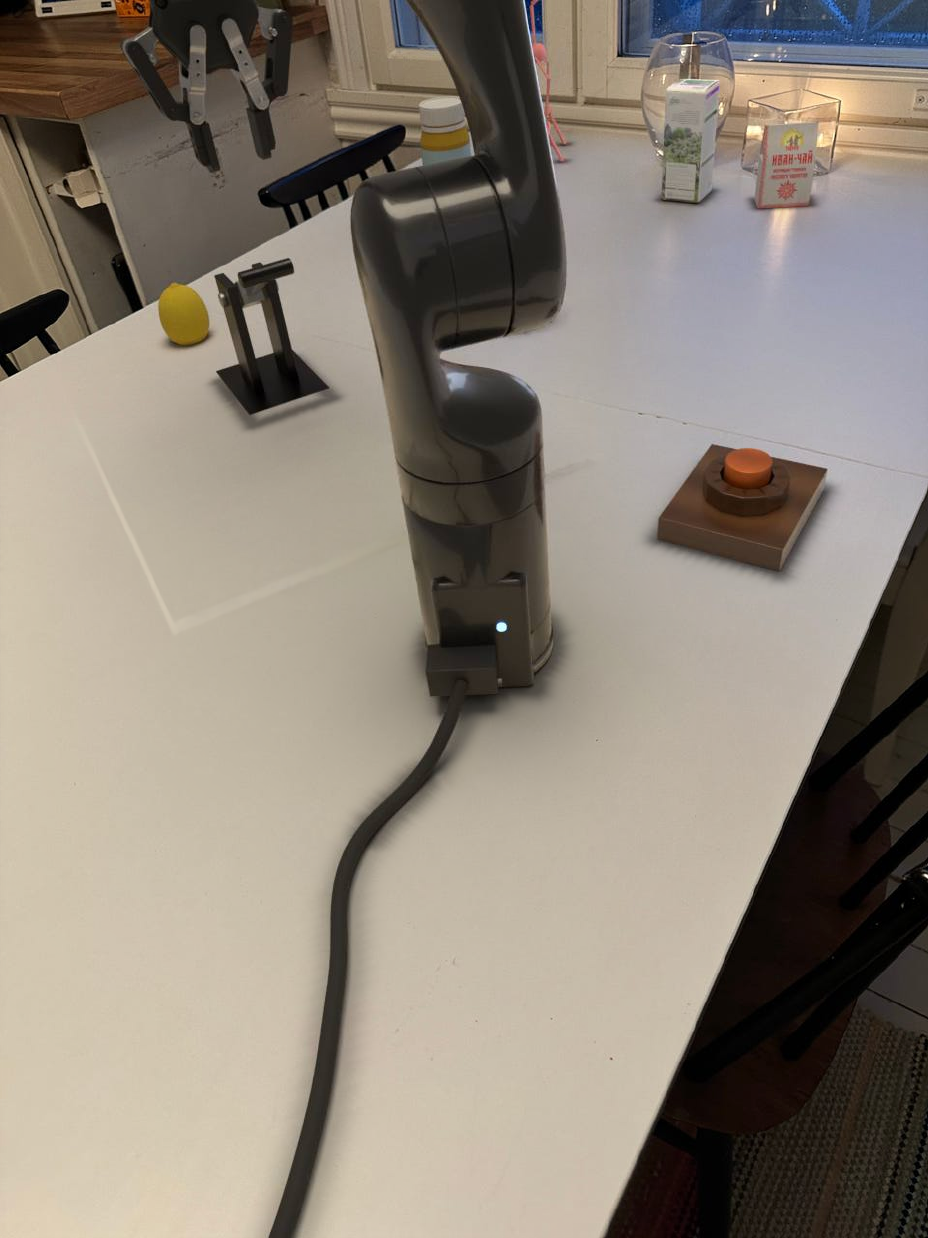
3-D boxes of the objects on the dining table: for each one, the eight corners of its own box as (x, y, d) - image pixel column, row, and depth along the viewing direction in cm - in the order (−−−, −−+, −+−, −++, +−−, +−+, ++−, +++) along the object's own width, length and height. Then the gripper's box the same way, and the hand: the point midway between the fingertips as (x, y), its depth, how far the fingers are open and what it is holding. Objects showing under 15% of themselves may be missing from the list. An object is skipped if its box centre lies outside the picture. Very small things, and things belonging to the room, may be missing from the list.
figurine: (572, 129, 163) (569, -124, 140) (565, 177, 144) (560, -106, 121) (486, 135, 165) (468, -113, 142) (468, 183, 147) (444, -94, 123)
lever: (297, 277, 85) (288, 250, 85) (246, 292, 84) (236, 265, 83) (273, 299, 97) (264, 276, 96) (227, 313, 95) (218, 289, 94)
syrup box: (713, 190, 134) (722, 77, 124) (697, 204, 130) (705, 89, 121) (675, 187, 136) (681, 76, 127) (659, 200, 133) (664, 87, 123)
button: (761, 495, 73) (763, 476, 72) (716, 484, 74) (718, 466, 73) (775, 471, 75) (778, 453, 74) (732, 462, 77) (734, 443, 75)
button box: (778, 572, 71) (786, 530, 69) (656, 539, 76) (659, 499, 73) (823, 490, 79) (831, 449, 76) (709, 464, 83) (713, 425, 80)
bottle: (422, 223, 136) (408, 109, 125) (437, 205, 140) (425, 95, 130) (468, 223, 134) (457, 108, 124) (481, 206, 138) (472, 94, 128)
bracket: (332, 398, 99) (306, 280, 90) (252, 425, 96) (219, 307, 88) (292, 357, 107) (266, 246, 98) (218, 381, 104) (184, 269, 96)
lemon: (161, 355, 111) (139, 290, 105) (191, 335, 114) (171, 271, 109) (196, 361, 109) (176, 295, 103) (226, 341, 112) (207, 276, 107)
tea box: (754, 199, 130) (762, 121, 123) (804, 196, 129) (815, 117, 122) (757, 208, 127) (766, 129, 120) (808, 205, 126) (820, 125, 119)
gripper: (91, -70, 63) (170, 195, 74) (287, -103, 67) (332, 153, 78) (71, -76, 68) (147, 173, 79) (254, -105, 72) (301, 135, 83)
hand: (239, 162), depth 79 cm, fingers open, 4 cm apart
